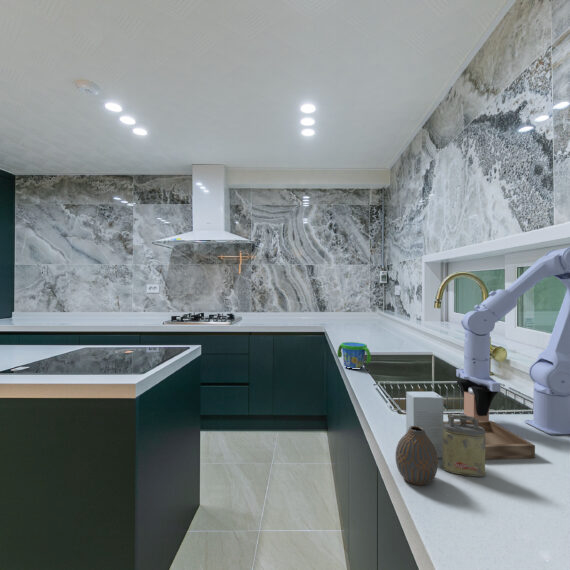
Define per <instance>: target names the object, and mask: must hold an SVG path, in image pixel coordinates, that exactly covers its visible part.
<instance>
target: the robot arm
mask: <svg viewBox="0 0 570 570" xmlns="http://www.w3.org/2000/svg"><path fill="white" fill-rule="evenodd" d="M552 276H553V277H555V278H556V279H558V280H559V281H560V282H561V283H562V285H564V287H565V288H566V292H565V294H564V297H563V301H562V303H561V306H560V308H559V312H558V314H557V318H556V320H555V324H554V326H553V329H552V332H551V335H550V338H549V340H548V343H547V346H546V348H545V349H544V350H543V351H542V352H540V353H538V356H537V358H536V360H535V361H534V362H533V363H532V364H531V365H530V367H529V370H528V375H529V378H530V379H531V381H533V382H534V385H533V405H532V406H533V407H532V408H533V409H532V410H533V411H532V412H533V415H532V416H533V417H532V419H525V420H524V421H523V422H524V423H525V424H528V425H530V426H532V427H533V428H536V429H537V430H540V431H542V432H544V433H546V434H548V435H555V436H556V435H570V246H569V247H565V248H560V249H552V250H549V251H548V252H546V253H545V254H544V256H541V257H540V258H538V259H537V260H536V261H535V262H534V263H533V264H531V266H530V267H529V268H528V269H526V270H525V271H524V272H523V273H522V274H521V275H520V276H519V277H517V278H516V279H515V280H514V281H513V282H512V283H511V284H510V285H509V286H508V287H507V288H505V289H503V288H502V289H501V288H500V289H498V288H497V289H496V290H491V291H490V292H489V293H488V295H489V296H488V297H487V298H485V299H484V300H483V301H482V302H481V303H480V304H475V306H473V309H474V310H470V311H468V312H466V313H465V314H464V315H463V318H462V320H461V323H460V324H461V326H462V328H463V329H464V340H463V341H464V343H463V345H464V347H463V349H464V350H463V351H464V352H463V353H464V354H463V359H464V360H463V365H464V366H463V368H456V369H455V371H456V376H455V377H457V378H460V379H457V381H456V384H457V385H458V388H459V389H460V391H461V393H462V397H463V399H464V392H468V388H469V387H471V388H472V390H473V393H474V396H475V400H476V411H477V415H479V416H487V413H488V410H489V411H490V406H491V403H492V401H493V399H494V398H495V396H497V394H498V392H501V383H500V382H498V381H496V380H495V379H494V378H492V377H491V374H490V373H491V372H490V371H491V367H490V366H491V338H490V337H491V336H490V335H491V332H493V331H494V329H495V326H496V323H498V322H499V321H500V320H501V319H503V318H504V317H505V316H506V315H507V314H509V313H510V312H511V311H512V310H514V309H515V308H516V307H517V306H518V299H519V298H520V297H521V296H522V295H524V294H526V292H528V291H529V290H530V289H532V288H533V287H534V286H535V285H537V284H539V283H540V282H541V281H542V280H543V279H545V278H548V277H552Z"/></svg>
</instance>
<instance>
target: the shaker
mask: <svg viewBox="0 0 570 570" xmlns="http://www.w3.org/2000/svg"><path fill="white" fill-rule="evenodd" d="M463 414H466V415H467V416H470V417H473V418H474V417H475V419H478V421H490V409H489V410H488V413H487V416H479V415H477V411H476V400H475V396H474V393H473V390H472V388H471V387H469V388H468V392H464V398H463Z"/></svg>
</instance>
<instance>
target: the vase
mask: <svg viewBox="0 0 570 570" xmlns="http://www.w3.org/2000/svg"><path fill="white" fill-rule="evenodd" d="M395 463H396V468H397V471H398V472H399V474H400V475H401V477H402V478H403V479H404V480H405V481H407V482H408V483H409V484H412V485H416V486H424V485H428V484H430V482H432V481H433V479H434V478H435V476H436V475H437V472H438V469H439V467H438V466H439V458H438V457H437V453H436V449H435V447H434V445H433V444H432V442H431V441H430V439H429V438H428V437H427V435H426V433H425V431H424V429H423V428H421V427H418V426H411V427H410V428H409V430H408V431H407V433H406V432H405V433H404V435H403V436H402V437H400V440H399V441H398V443H397V445H396V448H395Z"/></svg>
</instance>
